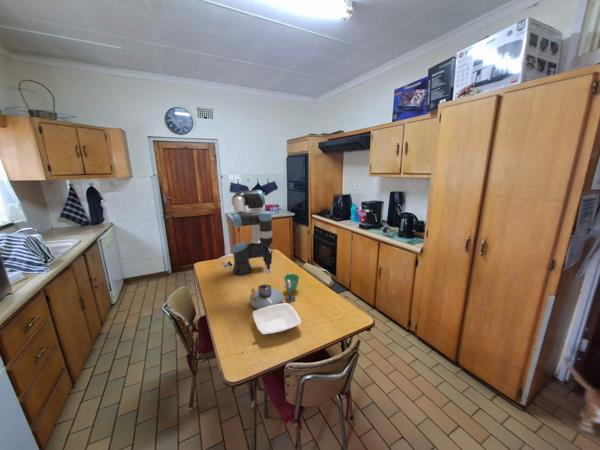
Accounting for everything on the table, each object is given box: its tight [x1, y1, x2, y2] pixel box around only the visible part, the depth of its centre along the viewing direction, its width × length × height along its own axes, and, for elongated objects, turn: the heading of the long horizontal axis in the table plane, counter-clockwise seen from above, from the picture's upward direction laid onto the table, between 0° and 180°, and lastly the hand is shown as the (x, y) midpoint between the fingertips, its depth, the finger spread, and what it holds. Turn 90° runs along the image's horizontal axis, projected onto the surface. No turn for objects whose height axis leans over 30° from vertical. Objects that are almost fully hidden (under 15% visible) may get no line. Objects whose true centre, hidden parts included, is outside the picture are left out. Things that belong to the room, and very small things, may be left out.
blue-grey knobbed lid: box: [249, 287, 283, 310], centre depth 149 cm, size 20×20×10 cm
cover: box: [257, 284, 272, 298], centre depth 151 cm, size 8×8×5 cm
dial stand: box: [284, 279, 296, 304], centre depth 151 cm, size 5×5×14 cm
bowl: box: [252, 302, 302, 335], centre depth 128 cm, size 22×23×6 cm
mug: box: [283, 272, 300, 293], centre depth 165 cm, size 15×10×10 cm
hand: (268, 273), depth 152 cm, fingers closed
